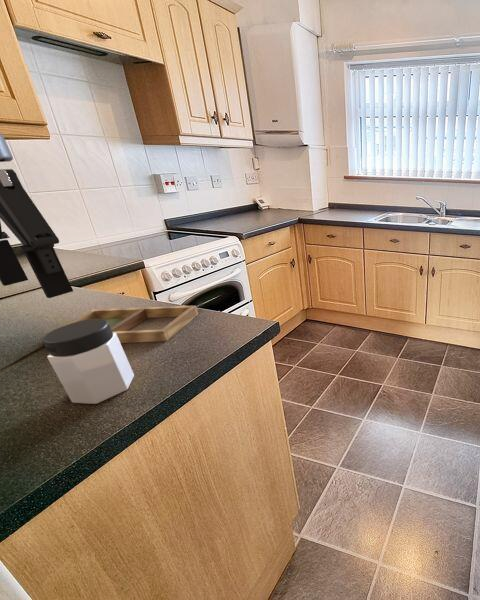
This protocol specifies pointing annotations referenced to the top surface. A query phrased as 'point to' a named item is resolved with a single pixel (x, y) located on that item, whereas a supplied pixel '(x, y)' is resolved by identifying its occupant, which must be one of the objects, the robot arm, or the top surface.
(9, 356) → the top surface
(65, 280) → the robot arm
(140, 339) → the organiser
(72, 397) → the jar
